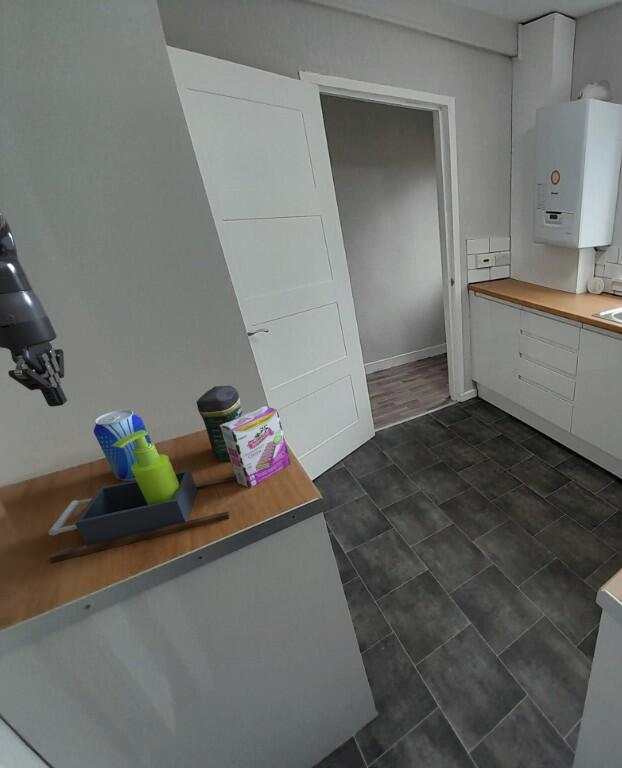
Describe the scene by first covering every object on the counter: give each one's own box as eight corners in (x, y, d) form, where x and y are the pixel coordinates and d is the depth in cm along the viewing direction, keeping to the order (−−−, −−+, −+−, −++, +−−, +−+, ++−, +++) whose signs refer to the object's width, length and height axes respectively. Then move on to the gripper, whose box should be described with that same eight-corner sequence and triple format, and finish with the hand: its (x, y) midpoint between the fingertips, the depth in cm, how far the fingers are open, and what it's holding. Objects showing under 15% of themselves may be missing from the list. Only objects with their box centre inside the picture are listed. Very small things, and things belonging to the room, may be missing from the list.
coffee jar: (245, 461, 106) (225, 398, 98) (211, 465, 104) (187, 401, 96) (258, 441, 114) (240, 381, 106) (226, 444, 113) (206, 384, 105)
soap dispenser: (142, 521, 86) (102, 441, 77) (175, 500, 92) (142, 423, 83) (162, 527, 84) (125, 446, 76) (195, 505, 90) (163, 428, 82)
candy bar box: (251, 490, 95) (231, 430, 88) (237, 484, 97) (217, 425, 90) (292, 465, 104) (278, 409, 98) (279, 459, 106) (264, 404, 99)
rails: (51, 562, 76) (48, 557, 75) (86, 512, 88) (83, 507, 87) (229, 519, 87) (227, 514, 86) (238, 479, 99) (236, 475, 98)
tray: (54, 555, 77) (40, 531, 74) (81, 516, 86) (69, 493, 84) (186, 523, 85) (177, 500, 82) (197, 491, 94) (189, 469, 92)
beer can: (112, 475, 99) (84, 418, 93) (154, 458, 106) (131, 404, 99) (124, 488, 95) (95, 430, 88) (167, 470, 101) (143, 414, 95)
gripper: (8, 310, 76) (50, 394, 83) (-42, 329, 65) (11, 423, 72) (62, 307, 79) (98, 388, 86) (23, 324, 68) (67, 415, 75)
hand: (58, 404), depth 79 cm, fingers closed
